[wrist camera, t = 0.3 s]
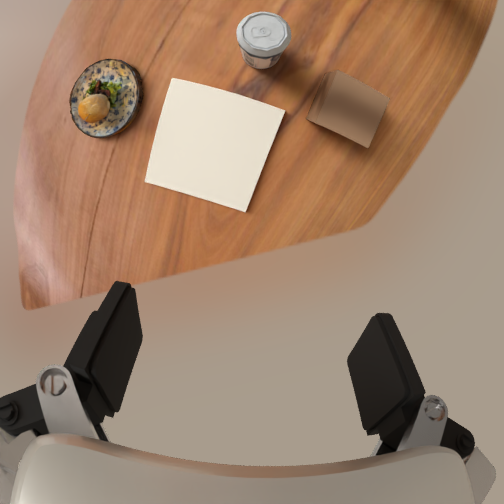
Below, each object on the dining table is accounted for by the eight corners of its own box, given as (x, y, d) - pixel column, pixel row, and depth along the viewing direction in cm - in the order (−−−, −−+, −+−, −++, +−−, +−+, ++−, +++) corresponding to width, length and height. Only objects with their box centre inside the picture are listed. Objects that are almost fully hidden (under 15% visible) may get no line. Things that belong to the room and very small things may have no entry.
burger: (148, 56, 27) (124, 49, 21) (141, 136, 33) (117, 146, 27) (78, 65, 26) (47, 65, 20) (74, 138, 33) (45, 149, 26)
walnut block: (324, 73, 29) (337, 69, 24) (370, 97, 30) (390, 98, 25) (305, 118, 32) (315, 123, 27) (351, 140, 33) (368, 148, 28)
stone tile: (174, 78, 29) (172, 77, 28) (284, 110, 31) (285, 110, 31) (147, 179, 36) (144, 181, 36) (245, 209, 39) (245, 212, 38)
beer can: (281, 68, 28) (295, 54, 18) (243, 70, 29) (238, 57, 19) (278, 35, 26) (289, 7, 16) (240, 38, 26) (233, 10, 16)
